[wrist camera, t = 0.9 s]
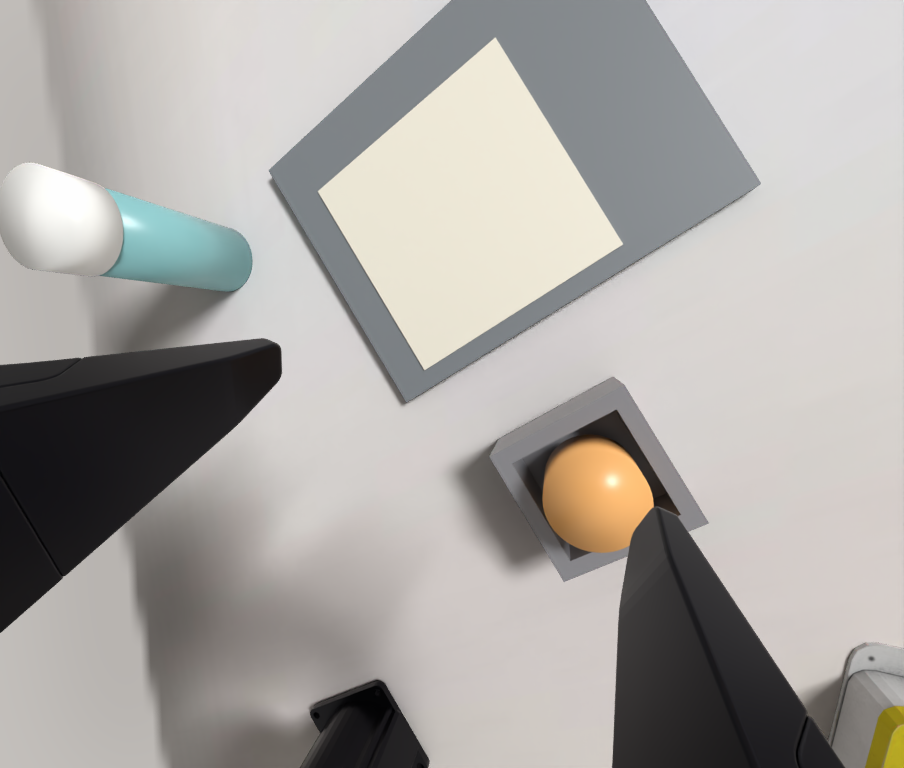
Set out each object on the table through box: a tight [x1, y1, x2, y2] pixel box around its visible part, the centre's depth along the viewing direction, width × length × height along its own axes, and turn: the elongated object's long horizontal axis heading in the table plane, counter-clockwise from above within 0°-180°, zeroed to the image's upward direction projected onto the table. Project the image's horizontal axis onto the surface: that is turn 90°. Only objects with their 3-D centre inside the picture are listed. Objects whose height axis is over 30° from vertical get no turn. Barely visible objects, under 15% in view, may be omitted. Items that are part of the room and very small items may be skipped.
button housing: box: [489, 377, 708, 582], centre depth 20 cm, size 7×7×4 cm
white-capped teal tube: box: [0, 163, 252, 292], centre depth 21 cm, size 4×4×10 cm
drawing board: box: [269, 0, 761, 402], centre depth 21 cm, size 20×16×1 cm
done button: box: [542, 434, 654, 553], centre depth 18 cm, size 4×4×3 cm
